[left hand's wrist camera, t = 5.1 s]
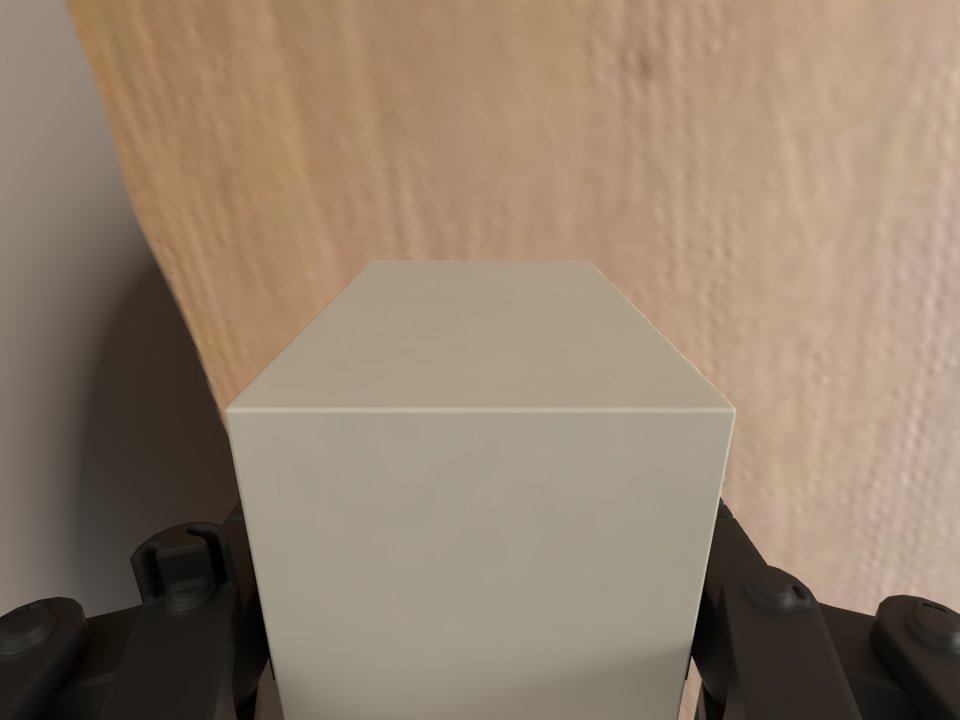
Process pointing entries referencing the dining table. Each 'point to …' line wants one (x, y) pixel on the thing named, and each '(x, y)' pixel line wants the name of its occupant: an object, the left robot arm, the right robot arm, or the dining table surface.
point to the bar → (480, 498)
